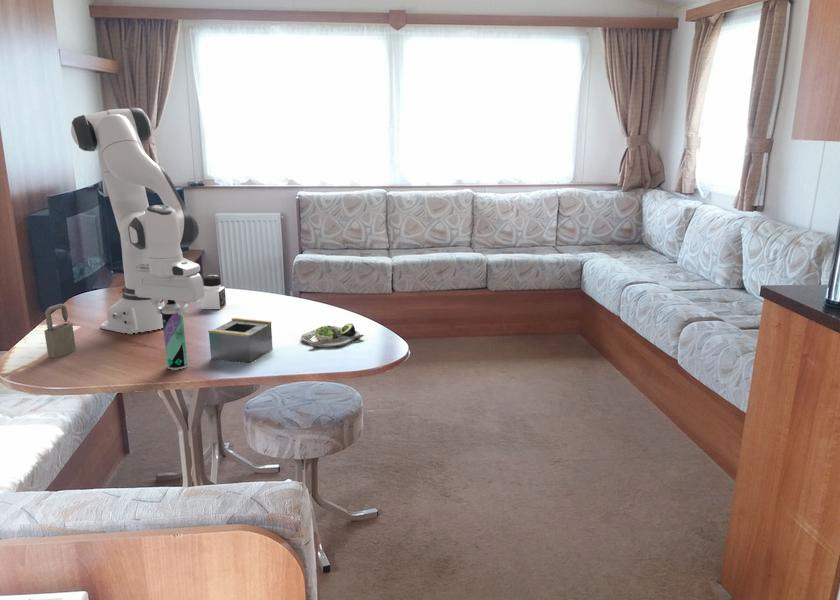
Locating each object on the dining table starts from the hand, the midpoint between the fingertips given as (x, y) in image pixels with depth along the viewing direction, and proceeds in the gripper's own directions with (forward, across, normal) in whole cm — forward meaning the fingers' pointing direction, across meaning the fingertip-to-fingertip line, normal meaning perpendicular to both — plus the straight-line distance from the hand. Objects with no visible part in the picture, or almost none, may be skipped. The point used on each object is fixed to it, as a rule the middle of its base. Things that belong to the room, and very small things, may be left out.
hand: (171, 314), depth 185 cm
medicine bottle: (+16, -25, +57) cm, 64 cm away
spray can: (+16, 0, 0) cm, 16 cm away
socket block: (+16, +12, +15) cm, 25 cm away
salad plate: (+16, +32, +36) cm, 51 cm away
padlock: (+16, -40, 0) cm, 43 cm away
